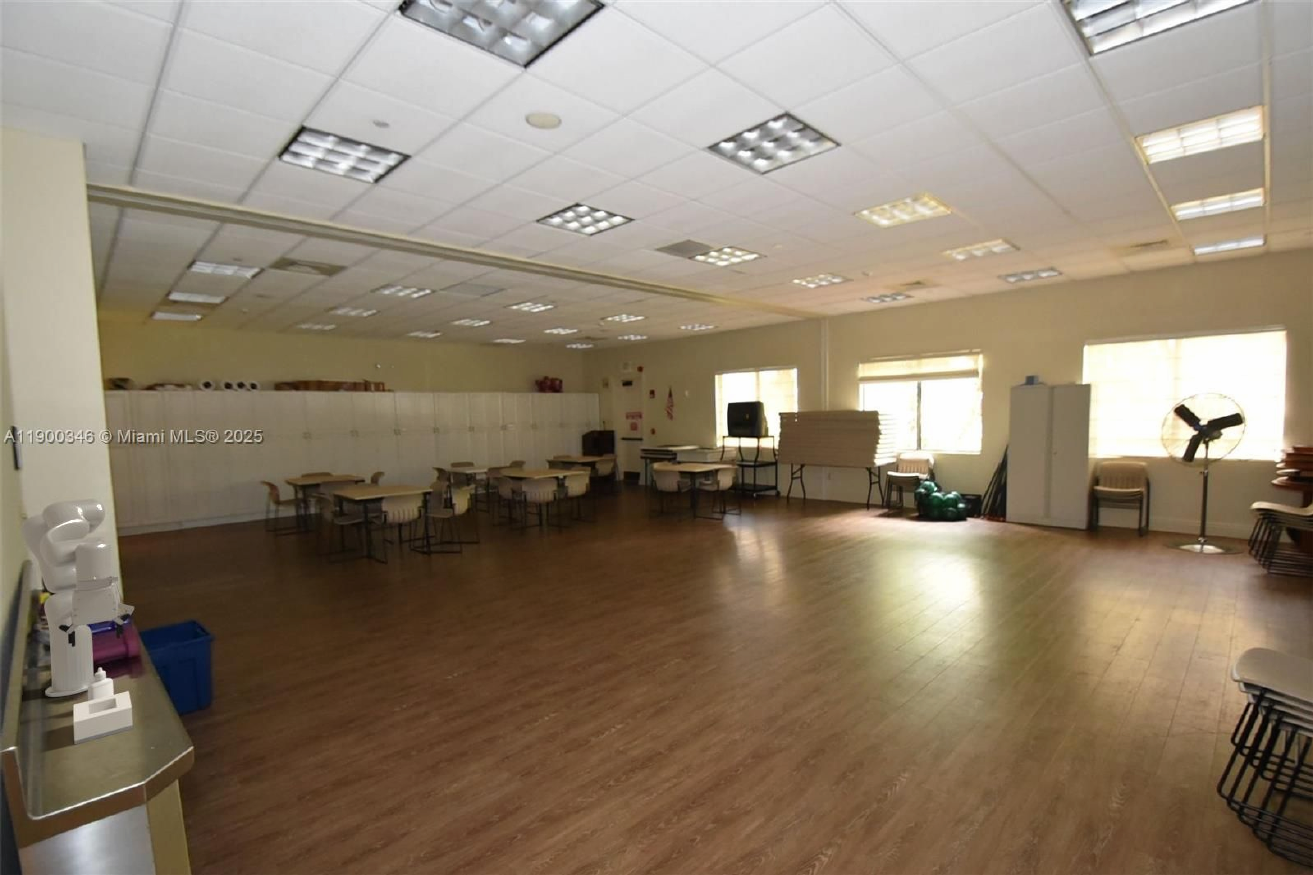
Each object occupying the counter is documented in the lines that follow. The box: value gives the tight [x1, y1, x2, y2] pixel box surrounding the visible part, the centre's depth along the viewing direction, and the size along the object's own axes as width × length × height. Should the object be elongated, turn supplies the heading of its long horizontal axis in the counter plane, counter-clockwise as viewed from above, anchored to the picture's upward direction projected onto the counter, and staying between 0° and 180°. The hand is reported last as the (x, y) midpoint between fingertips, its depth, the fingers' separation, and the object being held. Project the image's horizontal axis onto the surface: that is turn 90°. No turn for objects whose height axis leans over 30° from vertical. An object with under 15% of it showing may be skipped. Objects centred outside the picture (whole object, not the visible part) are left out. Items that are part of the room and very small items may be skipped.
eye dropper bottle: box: [87, 667, 115, 701], centre depth 178 cm, size 4×6×12 cm
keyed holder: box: [73, 690, 134, 745], centre depth 167 cm, size 14×12×6 cm
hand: (96, 641), depth 176 cm, fingers open, 9 cm apart
